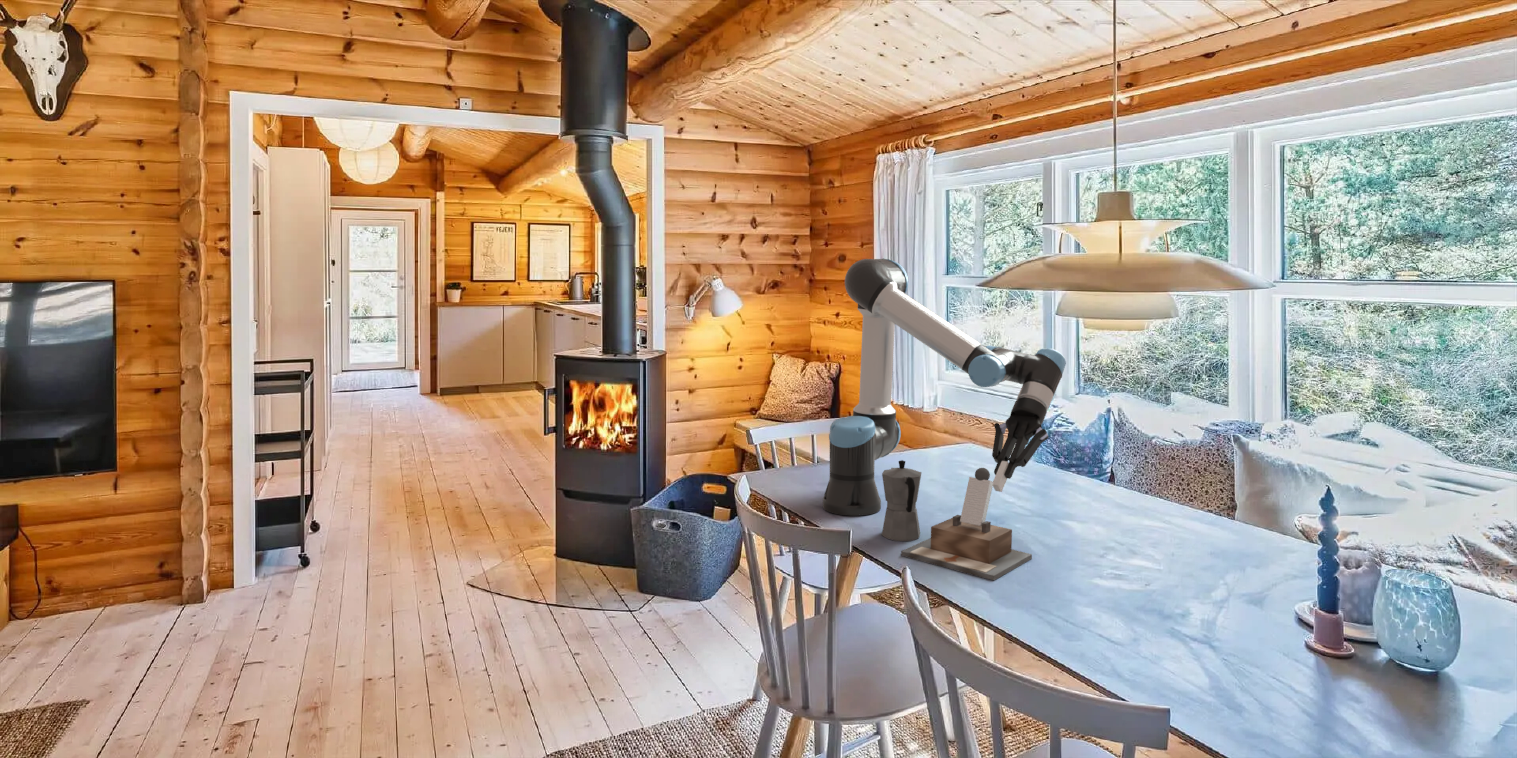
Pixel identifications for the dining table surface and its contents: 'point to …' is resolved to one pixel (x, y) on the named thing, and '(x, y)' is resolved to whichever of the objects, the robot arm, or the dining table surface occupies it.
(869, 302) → the robot arm
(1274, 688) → the dining table surface
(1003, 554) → the switch unit
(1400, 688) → the dining table surface
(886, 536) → the coffeepot
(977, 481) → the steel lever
